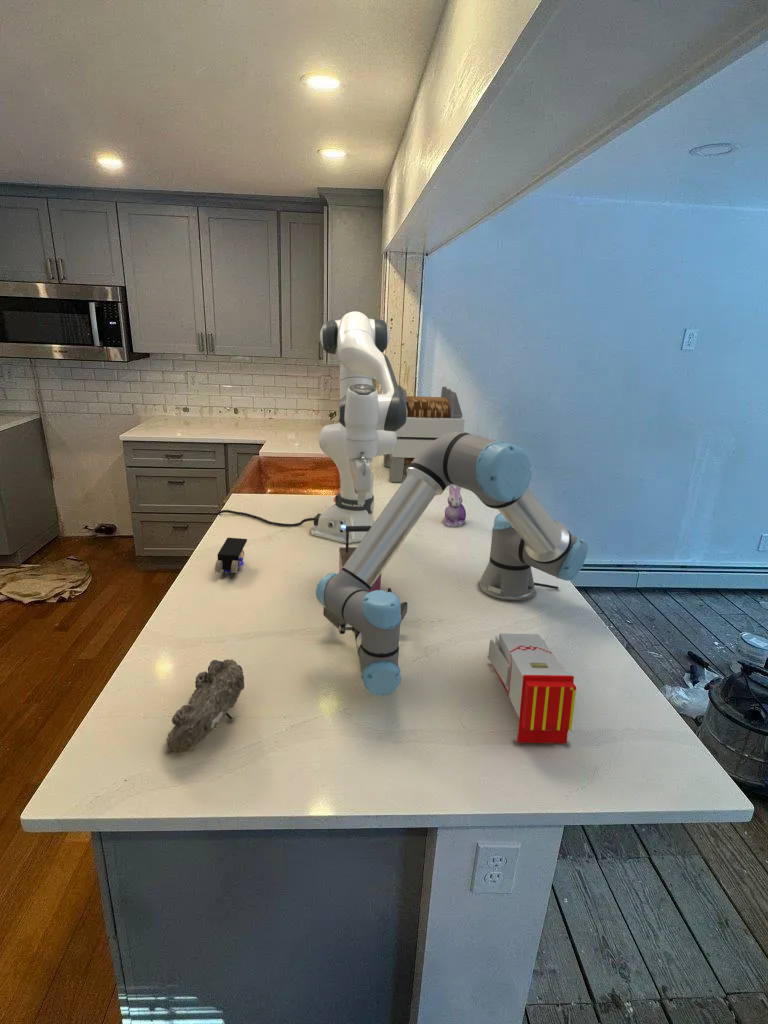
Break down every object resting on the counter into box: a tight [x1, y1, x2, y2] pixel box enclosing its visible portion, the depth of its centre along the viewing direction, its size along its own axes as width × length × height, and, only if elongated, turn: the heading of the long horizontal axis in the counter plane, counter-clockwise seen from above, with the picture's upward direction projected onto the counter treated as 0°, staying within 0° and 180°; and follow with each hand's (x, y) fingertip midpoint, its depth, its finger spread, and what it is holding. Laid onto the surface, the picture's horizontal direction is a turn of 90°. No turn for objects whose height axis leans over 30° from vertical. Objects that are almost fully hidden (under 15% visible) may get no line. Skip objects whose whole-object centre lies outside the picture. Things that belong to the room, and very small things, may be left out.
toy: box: [487, 632, 577, 744], centre depth 116 cm, size 12×13×30 cm
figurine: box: [443, 484, 467, 528], centre depth 210 cm, size 9×10×15 cm
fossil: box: [166, 658, 245, 754], centre depth 106 cm, size 22×10×15 cm
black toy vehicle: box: [214, 537, 248, 578], centre depth 166 cm, size 7×8×15 cm
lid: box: [338, 526, 371, 568], centre depth 153 cm, size 15×10×9 cm, turn 8°
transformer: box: [383, 384, 465, 483], centre depth 268 cm, size 34×33×41 cm
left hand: (359, 498), depth 153 cm, fingers open, 8 cm apart
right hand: (362, 593), depth 143 cm, fingers open, 13 cm apart
